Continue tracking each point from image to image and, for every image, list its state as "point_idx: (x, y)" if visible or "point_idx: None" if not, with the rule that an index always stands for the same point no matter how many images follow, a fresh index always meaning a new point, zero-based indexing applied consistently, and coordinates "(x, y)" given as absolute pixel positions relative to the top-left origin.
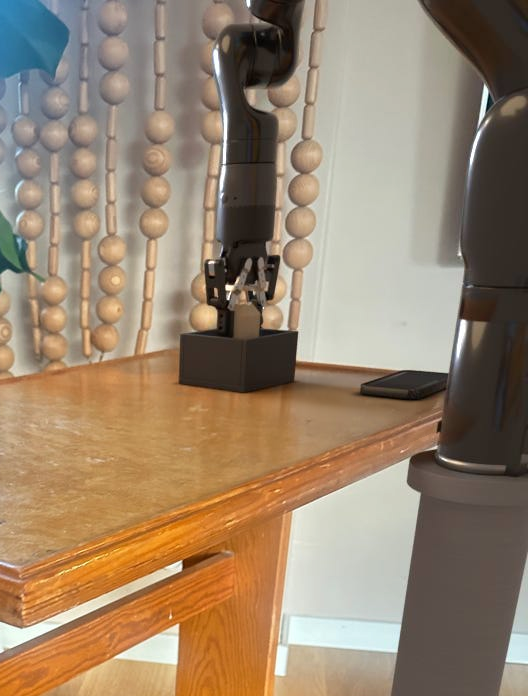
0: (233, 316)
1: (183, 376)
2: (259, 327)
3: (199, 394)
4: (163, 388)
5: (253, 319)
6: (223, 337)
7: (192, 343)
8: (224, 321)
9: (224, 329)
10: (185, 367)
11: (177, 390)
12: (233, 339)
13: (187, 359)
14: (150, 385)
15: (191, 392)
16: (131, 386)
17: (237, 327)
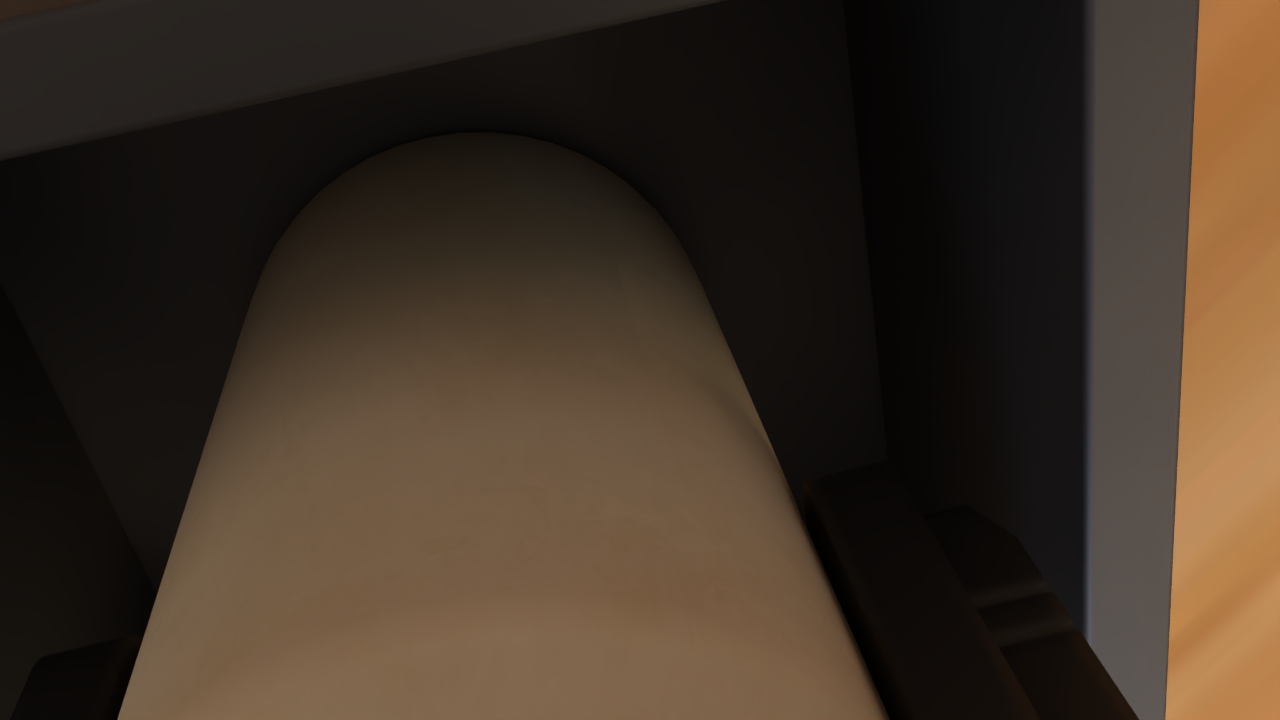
0: (952, 717)
1: None
2: (42, 717)
3: (1240, 5)
4: (1188, 452)
5: (490, 557)
6: (1144, 369)
7: None
8: (1100, 670)
9: (1033, 566)
10: None
11: (1193, 308)
12: (1192, 113)
13: None
14: None
15: (1198, 147)
16: (1268, 648)
17: (783, 553)
